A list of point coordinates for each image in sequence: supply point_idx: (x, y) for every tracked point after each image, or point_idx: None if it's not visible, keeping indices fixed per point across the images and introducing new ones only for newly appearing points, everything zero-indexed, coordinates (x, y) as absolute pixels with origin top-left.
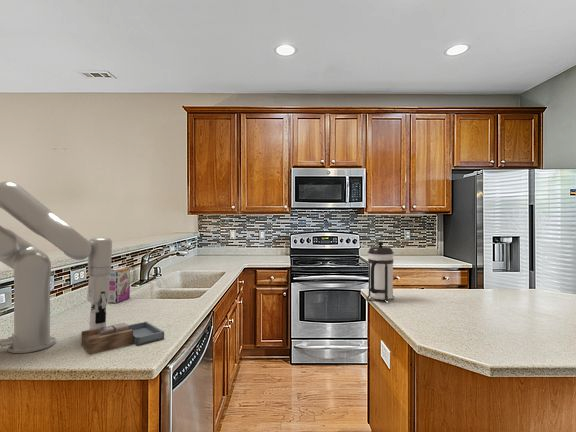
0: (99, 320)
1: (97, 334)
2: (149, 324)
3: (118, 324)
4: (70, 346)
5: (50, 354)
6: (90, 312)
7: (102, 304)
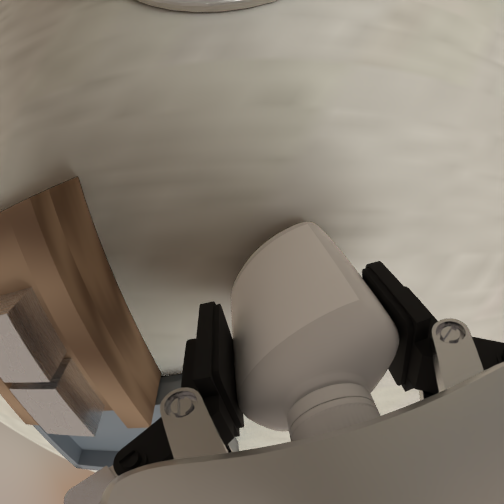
0: (188, 344)
1: (27, 290)
2: None
3: (65, 413)
4: (83, 115)
5: (18, 46)
6: (352, 306)
7: (77, 498)
